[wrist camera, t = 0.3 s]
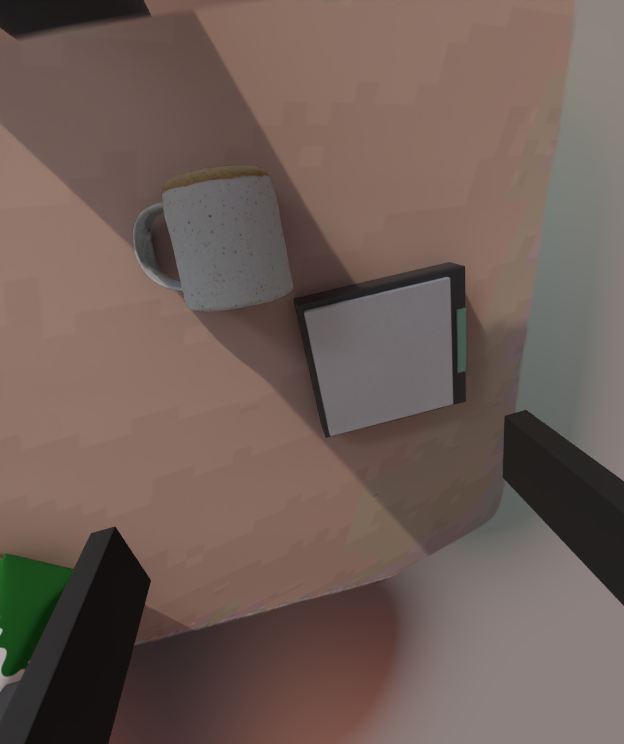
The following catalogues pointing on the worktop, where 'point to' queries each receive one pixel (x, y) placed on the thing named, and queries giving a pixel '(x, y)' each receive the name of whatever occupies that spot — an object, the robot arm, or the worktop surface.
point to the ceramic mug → (219, 238)
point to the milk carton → (25, 610)
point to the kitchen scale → (386, 347)
